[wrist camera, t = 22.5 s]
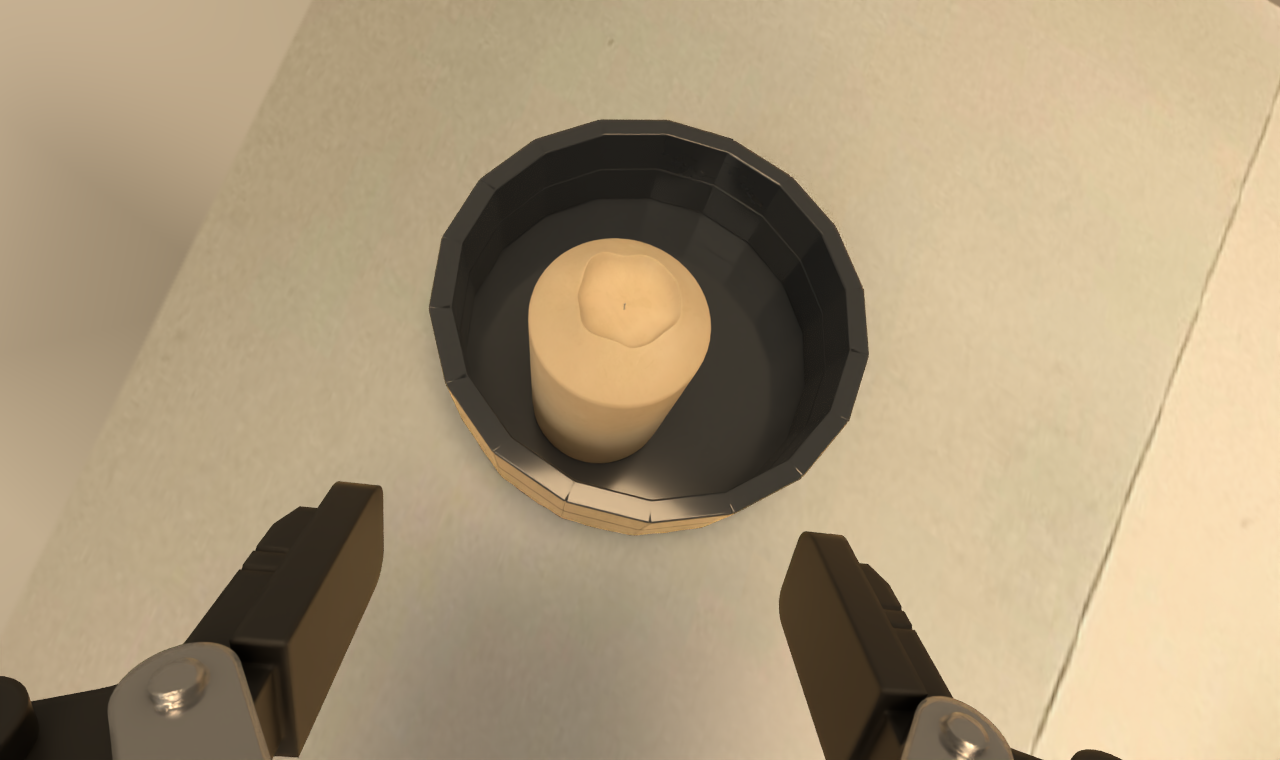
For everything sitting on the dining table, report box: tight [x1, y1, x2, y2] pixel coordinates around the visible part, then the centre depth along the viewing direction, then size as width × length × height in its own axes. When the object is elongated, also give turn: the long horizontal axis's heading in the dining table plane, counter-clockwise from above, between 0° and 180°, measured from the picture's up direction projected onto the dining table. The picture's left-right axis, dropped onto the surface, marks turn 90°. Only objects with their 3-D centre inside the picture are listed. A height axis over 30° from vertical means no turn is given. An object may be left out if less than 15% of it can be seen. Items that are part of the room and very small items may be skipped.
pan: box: [429, 120, 869, 536], centre depth 26 cm, size 17×17×5 cm
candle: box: [528, 238, 711, 463], centre depth 22 cm, size 6×6×10 cm
